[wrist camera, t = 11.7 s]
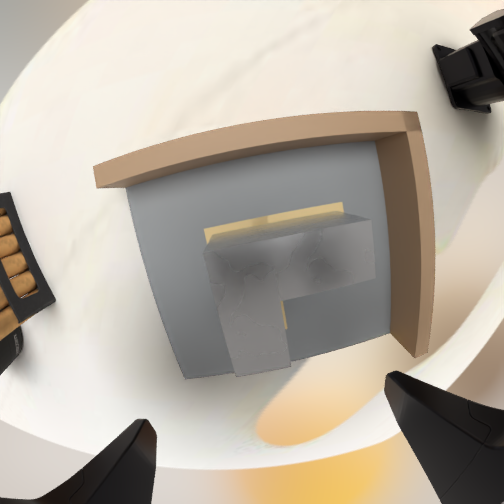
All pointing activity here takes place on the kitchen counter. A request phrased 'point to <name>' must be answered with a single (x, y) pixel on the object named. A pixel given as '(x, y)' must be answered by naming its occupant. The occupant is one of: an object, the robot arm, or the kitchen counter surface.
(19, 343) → the pen holder
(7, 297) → the ammunition clip
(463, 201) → the kitchen counter surface
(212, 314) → the arena
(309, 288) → the angle bracket
